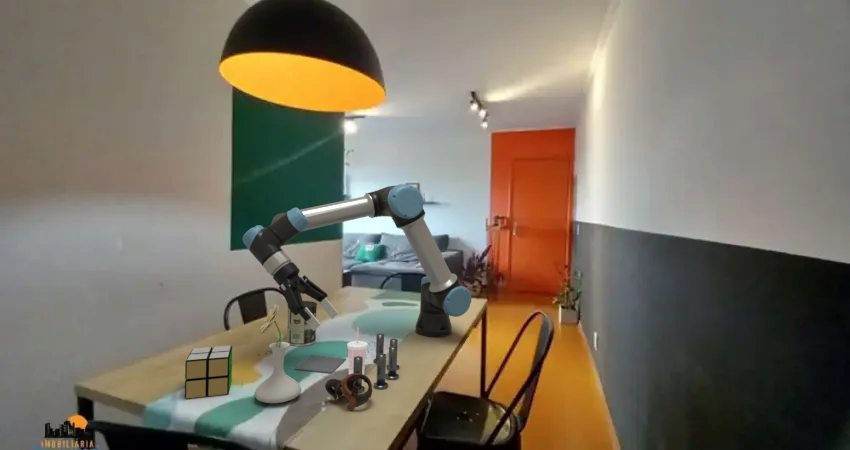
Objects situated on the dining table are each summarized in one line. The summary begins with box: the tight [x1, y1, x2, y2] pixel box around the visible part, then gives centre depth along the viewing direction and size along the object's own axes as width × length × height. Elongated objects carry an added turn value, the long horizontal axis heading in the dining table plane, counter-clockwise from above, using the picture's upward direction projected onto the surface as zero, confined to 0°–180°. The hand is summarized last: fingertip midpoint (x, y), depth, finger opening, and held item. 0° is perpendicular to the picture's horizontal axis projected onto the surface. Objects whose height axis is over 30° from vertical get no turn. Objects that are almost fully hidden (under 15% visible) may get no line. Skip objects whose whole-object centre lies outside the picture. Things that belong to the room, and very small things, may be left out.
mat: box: [294, 354, 347, 375], centre depth 131 cm, size 12×12×1 cm
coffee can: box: [286, 300, 318, 347], centre depth 152 cm, size 10×10×14 cm
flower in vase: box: [253, 304, 302, 404], centre depth 106 cm, size 13×11×25 cm
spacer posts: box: [353, 333, 400, 394], centre depth 123 cm, size 26×11×9 cm, turn 170°
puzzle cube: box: [184, 345, 233, 400], centre depth 110 cm, size 10×10×10 cm
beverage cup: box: [346, 326, 368, 375], centre depth 124 cm, size 6×6×14 cm
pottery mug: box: [324, 373, 374, 412], centre depth 105 cm, size 12×10×8 cm
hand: (327, 321), depth 125 cm, fingers open, 13 cm apart
